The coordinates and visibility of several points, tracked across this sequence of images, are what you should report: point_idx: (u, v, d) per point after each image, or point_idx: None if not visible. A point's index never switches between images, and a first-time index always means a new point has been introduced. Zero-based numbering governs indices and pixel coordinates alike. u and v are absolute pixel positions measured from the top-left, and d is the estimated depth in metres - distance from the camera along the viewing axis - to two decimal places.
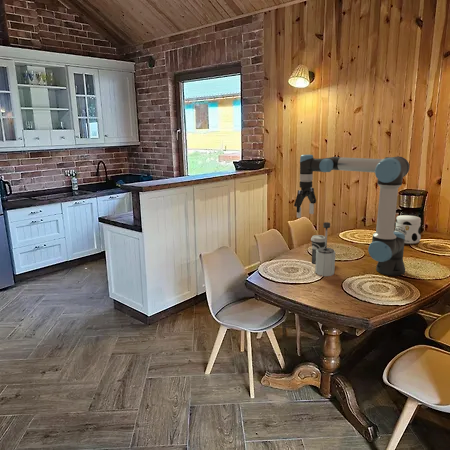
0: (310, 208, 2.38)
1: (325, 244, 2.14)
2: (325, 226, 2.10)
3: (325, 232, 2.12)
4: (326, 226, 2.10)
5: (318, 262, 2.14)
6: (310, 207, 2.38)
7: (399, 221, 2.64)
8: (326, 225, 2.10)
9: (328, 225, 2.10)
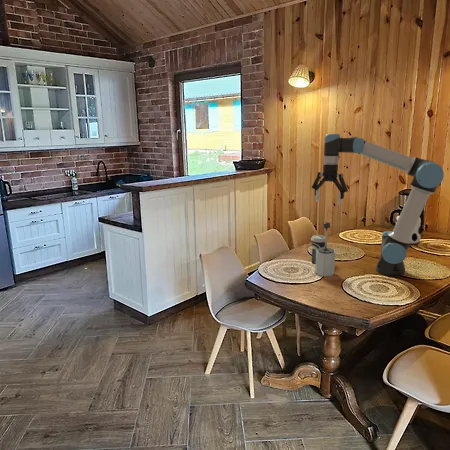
0: None
1: (325, 244, 2.14)
2: (325, 226, 2.10)
3: (325, 232, 2.12)
4: (326, 226, 2.10)
5: (318, 262, 2.14)
6: None
7: None
8: (326, 225, 2.10)
9: (328, 225, 2.10)
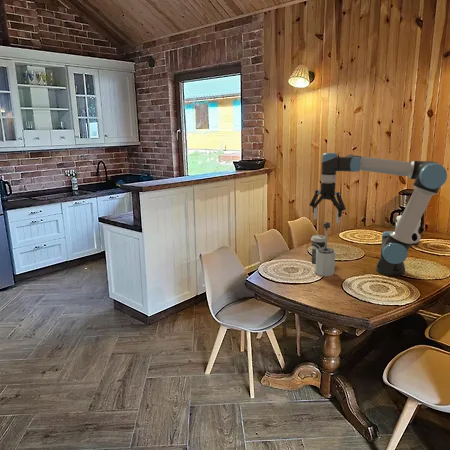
0: None
1: (325, 244, 2.14)
2: (325, 226, 2.10)
3: (325, 232, 2.12)
4: (326, 226, 2.10)
5: (318, 262, 2.14)
6: None
7: None
8: (326, 225, 2.10)
9: (328, 225, 2.10)
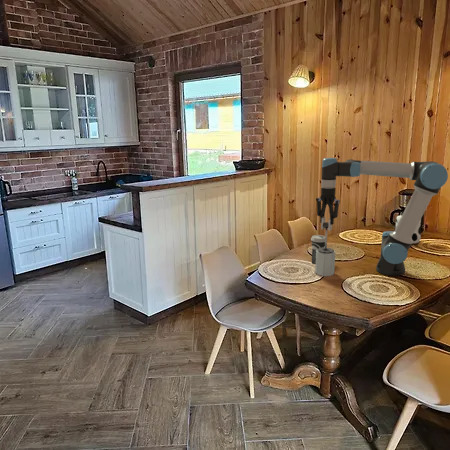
0: None
1: (325, 244, 2.14)
2: (325, 226, 2.10)
3: (325, 232, 2.12)
4: (326, 226, 2.10)
5: (318, 262, 2.14)
6: None
7: None
8: (326, 225, 2.10)
9: None
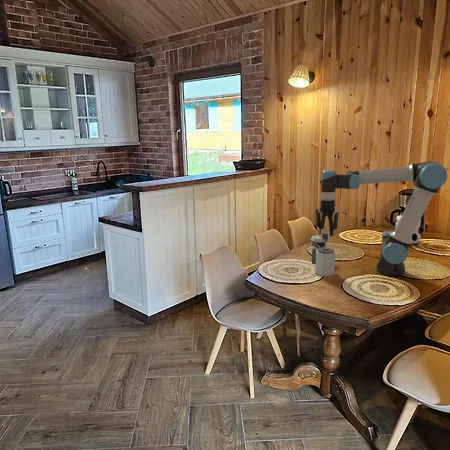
0: None
1: None
2: (325, 237, 2.12)
3: (325, 243, 2.14)
4: (326, 237, 2.11)
5: (318, 262, 2.14)
6: None
7: None
8: (326, 236, 2.11)
9: (327, 236, 2.11)
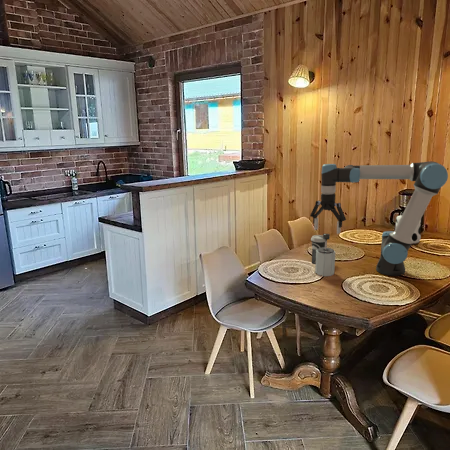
0: None
1: None
2: (325, 237, 2.12)
3: (325, 243, 2.14)
4: (326, 237, 2.11)
5: (318, 262, 2.14)
6: None
7: None
8: (326, 236, 2.11)
9: (327, 236, 2.11)
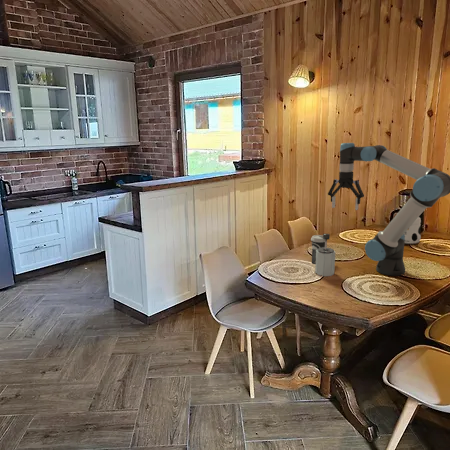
0: None
1: None
2: (325, 237, 2.12)
3: (325, 243, 2.14)
4: (326, 237, 2.11)
5: (318, 262, 2.14)
6: None
7: None
8: (326, 236, 2.11)
9: (327, 236, 2.11)
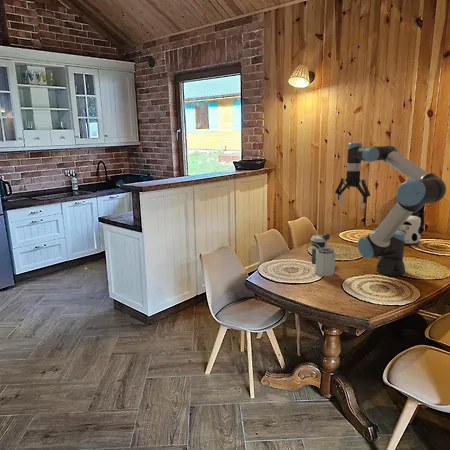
0: None
1: None
2: (325, 237, 2.12)
3: (325, 243, 2.14)
4: (326, 237, 2.11)
5: (318, 262, 2.14)
6: None
7: None
8: (326, 236, 2.11)
9: (327, 236, 2.11)
